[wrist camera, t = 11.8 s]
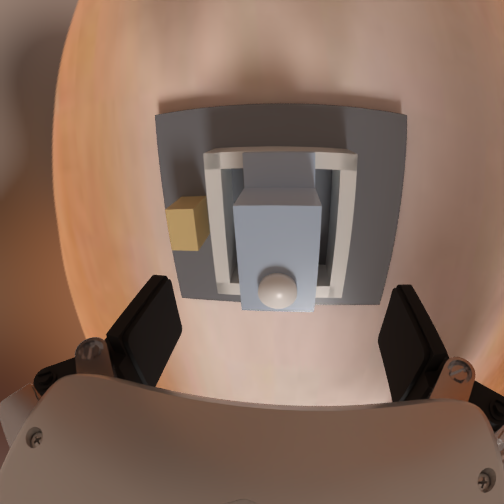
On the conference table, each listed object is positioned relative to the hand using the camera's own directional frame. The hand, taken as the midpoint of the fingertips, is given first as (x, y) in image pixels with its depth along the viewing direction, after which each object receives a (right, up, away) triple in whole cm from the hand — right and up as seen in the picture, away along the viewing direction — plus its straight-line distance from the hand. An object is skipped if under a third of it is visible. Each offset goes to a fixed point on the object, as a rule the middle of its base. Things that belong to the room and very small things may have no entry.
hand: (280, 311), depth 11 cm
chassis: (+1, +6, +10) cm, 11 cm away
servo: (+1, +5, +9) cm, 10 cm away
